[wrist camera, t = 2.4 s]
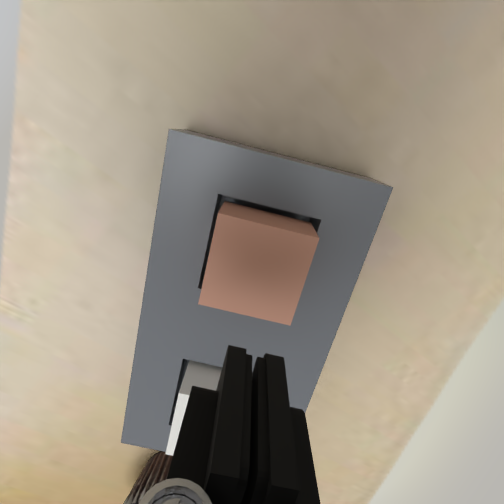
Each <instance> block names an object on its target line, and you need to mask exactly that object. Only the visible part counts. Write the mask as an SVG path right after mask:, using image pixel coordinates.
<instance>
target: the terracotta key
mask: <svg viewBox="0 0 504 504" xmlns="http://www.w3.org/2000/svg"><path fill="white" fill-rule="evenodd" d="M318 241H319V237H318V235H317V233H316V231H315V229H314V227H313V226H312V224H311V223H310V222H306V221H302V220H298V219H295V218H291V217H287V216H283V215H279V214H275V213H271V212H267V211H263V210H259V209H255V208H251V207H247V206H243V205H239V204H235V203H231V202H227V201H224V203H223V205H222V207H221V208H220V210H219V212H218V215H217V220H216V224H215V229H214V233H213V238H212V243H211V247H210V252H209V256H208V261H207V266H206V270H205V275H204V279H203V284H202V288H201V293H200V298H199V302H198V304H199V305H204V306H208V307H212V308H217V309H221V310H225V311H229V312H234V313H238V314H242V315H247V316H251V317H255V318H259V319H264V320H268V321H272V322H277V323H281V324H285V325H290V326H291V323H292V320H293V317H294V314H295V310H296V307H297V304H298V301H299V298H300V295H301V292H302V289H303V286H304V283H305V280H306V277H307V274H308V271H309V268H310V265H311V262H312V259H313V256H314V253H315V250H316V247H317V244H318Z"/></svg>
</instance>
